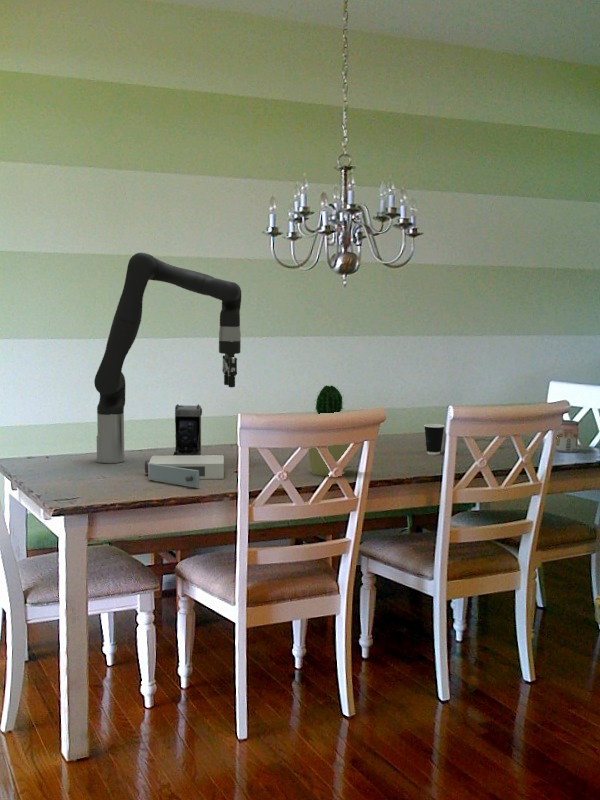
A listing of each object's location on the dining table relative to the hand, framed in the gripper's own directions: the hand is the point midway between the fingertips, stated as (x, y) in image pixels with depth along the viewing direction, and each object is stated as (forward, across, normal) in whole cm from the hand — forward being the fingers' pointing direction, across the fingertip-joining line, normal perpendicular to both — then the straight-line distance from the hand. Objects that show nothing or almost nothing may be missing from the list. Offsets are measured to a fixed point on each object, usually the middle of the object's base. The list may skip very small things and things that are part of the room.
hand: (229, 386), depth 303 cm
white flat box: (+28, +16, -17) cm, 36 cm away
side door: (+27, +31, -24) cm, 48 cm away
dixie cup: (+27, -5, +80) cm, 85 cm away
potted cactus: (+28, +23, +30) cm, 47 cm away
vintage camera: (+28, -10, -13) cm, 32 cm away
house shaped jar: (+27, 0, +134) cm, 137 cm away
